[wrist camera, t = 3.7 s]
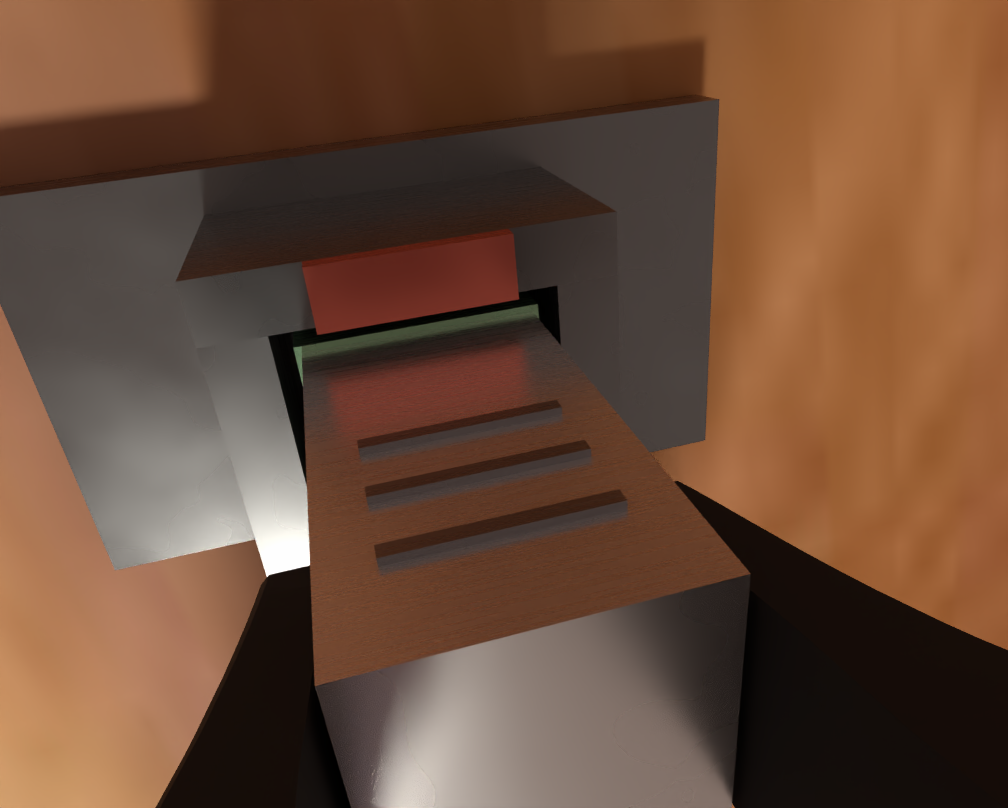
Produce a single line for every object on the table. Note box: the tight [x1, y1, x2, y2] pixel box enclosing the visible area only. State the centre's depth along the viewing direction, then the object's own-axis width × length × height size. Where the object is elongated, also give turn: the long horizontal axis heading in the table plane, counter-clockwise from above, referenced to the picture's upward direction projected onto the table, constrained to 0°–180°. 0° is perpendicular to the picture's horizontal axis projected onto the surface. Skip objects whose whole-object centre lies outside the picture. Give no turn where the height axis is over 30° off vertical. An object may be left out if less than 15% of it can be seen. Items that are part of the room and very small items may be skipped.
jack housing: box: [0, 95, 719, 577], centre depth 14 cm, size 8×14×5 cm, turn 95°
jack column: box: [293, 291, 751, 808], centre depth 10 cm, size 4×4×8 cm
